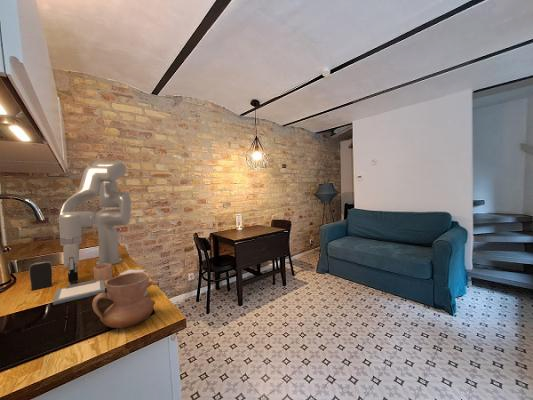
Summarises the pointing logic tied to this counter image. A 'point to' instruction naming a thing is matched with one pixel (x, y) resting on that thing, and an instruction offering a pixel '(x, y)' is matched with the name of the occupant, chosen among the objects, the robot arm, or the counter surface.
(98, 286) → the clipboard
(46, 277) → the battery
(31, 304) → the counter surface
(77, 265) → the marker
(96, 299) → the ceramic jug
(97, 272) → the pen cup
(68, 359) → the counter surface
